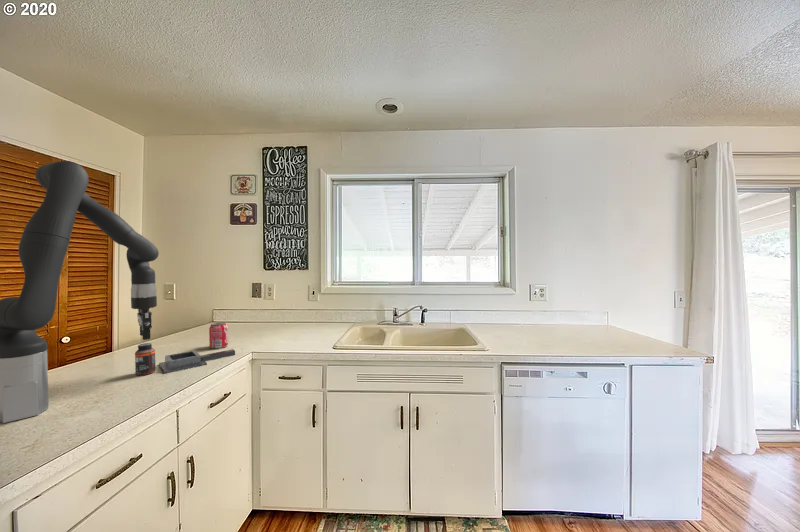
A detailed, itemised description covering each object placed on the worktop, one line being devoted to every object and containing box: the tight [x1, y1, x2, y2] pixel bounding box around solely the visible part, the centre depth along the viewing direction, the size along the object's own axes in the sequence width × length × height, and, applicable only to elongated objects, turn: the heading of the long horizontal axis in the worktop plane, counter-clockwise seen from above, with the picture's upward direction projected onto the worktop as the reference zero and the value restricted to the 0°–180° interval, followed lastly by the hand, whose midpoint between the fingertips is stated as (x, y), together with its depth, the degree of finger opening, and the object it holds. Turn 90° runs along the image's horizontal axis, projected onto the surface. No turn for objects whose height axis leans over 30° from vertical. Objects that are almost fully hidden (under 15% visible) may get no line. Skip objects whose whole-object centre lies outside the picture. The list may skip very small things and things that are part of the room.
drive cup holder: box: [158, 349, 236, 375], centre depth 129 cm, size 14×26×4 cm, turn 136°
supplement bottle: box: [134, 342, 156, 377], centre depth 116 cm, size 6×6×11 cm
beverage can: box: [208, 321, 229, 350], centre depth 150 cm, size 8×8×12 cm
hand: (145, 337), depth 116 cm, fingers open, 8 cm apart
